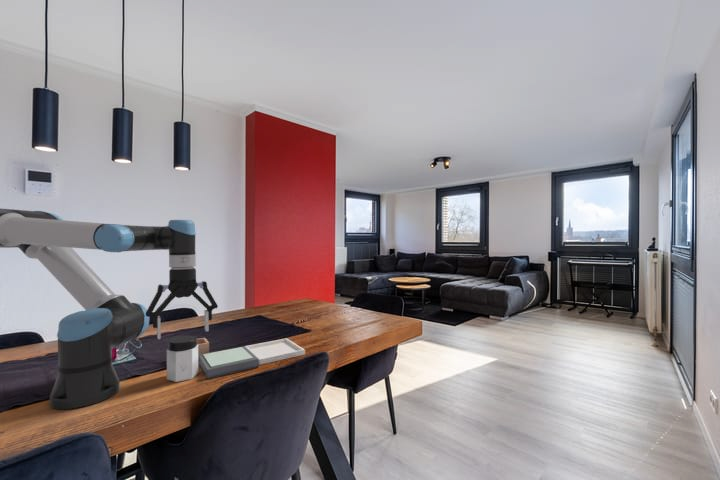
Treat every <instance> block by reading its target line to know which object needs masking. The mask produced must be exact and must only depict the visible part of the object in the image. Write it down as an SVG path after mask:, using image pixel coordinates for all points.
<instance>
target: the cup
mask: <svg viewBox="0 0 720 480" xmlns="http://www.w3.org/2000/svg"><path fill="white" fill-rule="evenodd" d="M197 345H198V355H201V354H206V353H210V341H208V339H207V338H206V337H201V338H197Z"/></svg>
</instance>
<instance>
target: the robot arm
mask: <svg viewBox="0 0 720 480" xmlns="http://www.w3.org/2000/svg"><path fill="white" fill-rule="evenodd" d="M195 225H196V224H195V222H194V221H193V220H191V219H170V220H169V221H168V224H167V225H166V226H160V225H159V226H157V225H156V226H150V225H149V226H148V225H130V224H117V223H116V224H115V223H101V222H100V223H99V222H89V221H78V220H77V221H75V220H63V218H62V217H60V216H58V215H57V214H54V213H52V212H47V211H42V210H25V209H23V210H22V209H9V208H0V248H4V249H5V248H7V249H8V248H10V249H11V248H18V249H20V251H21V252H22V253H23V254H24V256H26V257H27V258H28V259H33V260H34V259H35V260H36V259H37V260H38V261H39V262H40V263H41V264H42V266H43V267H45V268H46V270H48V272H49V273H50V274H51V275H52V276H53V277H54V278H55V280H56V281H58V282H59V283H60V285H61V286H62V287H63V288H64V289H65V290H66V291H67V292H68V293H69V294H70V295H71V297H73V298H74V300H75V301H76V302H77V303H78V304H79V305H80V306H81V307H82V308H83V309H84V310H80V311H76V312H73V313H70V314H68V315H66V316H64V317H63V318H61V320H60V321H59V322H58V327H57V328H58V331H57V334H56V336H57V337H56V338H57V358H58V359H57V362H58V363H57V365H58V371H57V372H58V373H57V377H56V380H55V382H54V385H53V387H52V390H51V392H50V395H49V406H50V408H52V409H55V410H72V408H73V409H79V408H84V407H87V406H88V407H89V406H91V405H94V404H97V403H100V402H102V401H105V400H107V399H109V398H111V397H114V396H115V395H116V394H118V392H119V391H120V387H121V386H120V382H121V381H120V379H119V376H118V374H117V371H116V369H115V367H114V365H113V349H115V348H118V347H120V346H122V345H125V344H126V343H129V342H133V341H134V340H136V339H137V338H140V337H141V336H142V335H144V333H145V332H146V331H147V330H148V328H149V325H150V318H152V327H153V329H156V338H157V339H158V340H160V339H162V338H161V337H162V334H161V333H162V332H161V330H162V328H161V320H162V319H161V316H160V315H161V314H162V313H163V311H164V310H165V309H166V308H167V306H168V305H169V304H171V303H172V301H173V300H174V299H175V298H177V299H181V298H189V297H191V296H192V297H194V299H196V300H197V301H198V302H199V303H200V304H201V305H202V306H203V307H204V308H205V310H204V313H203V314H204V330H205V332H209V331H210V328H209V326H210V324H209V323H210V321H212V319H213V310H215V309H217V308H218V306H219V305H218V303H217V302H216V300H215V299H214V297H213V295H212V294H211V292H210V290H209V289H208V283H207V281H206V280H202V281H200V282H197V269H196V268H195V267H196V266H197V263H196V262H197V260H196V259H197V258H196V257H197V256H196V255H197V254H196V235H197V233H196V226H195ZM74 249H84V250H85V249H87V250H97V251H98V250H99V251H103V252H107V253H122V252H123V253H124V252H132V251H133V252H137V251H157V250H158V251H160V250H162V251H163V250H165V251H166V250H167V251H168V262H169V263H168V267H169V268H170V269H169V271H168V272H169V276H168V277H169V282H168V285H166V284H165V285H164V284H158V285H157V290H156V294H155V295H154V297H153V298H152V300H151V302H150V304H149V306H148V308H146V307H145V306H144V304H141V303H136V302H131V301H130V300H128V298H127V297H125V295H123V294H116V293H115V292H114V291H113V290H111V288H110V287H109V286H108V285H107V284H106V283H105V281H103V280H102V279H101V278H100V276H99V275H98V274H97V273H96V272H95V271H94V270H93V268H91V267H90V266H89V265H88V263H86V262H85V261H84V259H83V258H82V257H81V255H79V254H78V252H76V251H75V250H74ZM198 287H199V289H202V291H203V293H204V294H205V296H206V298H207V299H208V301H209V303H210V304H211V305H209V304H208V302H207V301H205V300H204V299H203V298H202V297H201V296H200V295H199V294H198V293H197V292H196V290H197V288H198ZM166 290H169V292H170V293H169V294H168V296H167V297H166V298H165V300H164V301H162V303H161V304H160V305H159V306H157V304H158V302H159V300H160V298H161V297H162V295H163V293H165V292H166ZM156 306H157V308H156ZM155 308H156V309H155ZM154 309H155V311H154ZM83 406H84V407H83ZM78 407H79V408H78Z"/></svg>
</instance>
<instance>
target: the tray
mask: <svg viewBox="0 0 720 480" xmlns="http://www.w3.org/2000/svg"><path fill="white" fill-rule="evenodd" d="M244 346H245V347H246V348H247V349H248V350H249V351H250V352H251V353H252V354H253V355H254V356H255V357H257V358H258V366H259V365H265V364H269V363H274V362H278V361H279V362H280V361H282V360H286V359H292V358H295V357H300V356H304V355H306V348H305V349H304V348H303V347H301V346H300V345H298V344H297V343H295V342H293V341H292V340H291V339H289V338H286V337H285V338H281V339H276V340H271V341H270V340H269V341H266V342H264V341H263V342H261V343H260V342H259V343H255V344H250V345H244Z"/></svg>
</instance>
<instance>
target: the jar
mask: <svg viewBox="0 0 720 480" xmlns="http://www.w3.org/2000/svg"><path fill="white" fill-rule="evenodd" d="M197 339H198V337H197V336H195V335H182V336H176V337H173V338H170V339H169V340H168V348H167V349H166V380H168V381H172V382H174V383H179V382H183V381H189V380H192V379H193V378H195V377H196V376H197V375H198V374H199V364H198V345H197Z"/></svg>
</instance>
